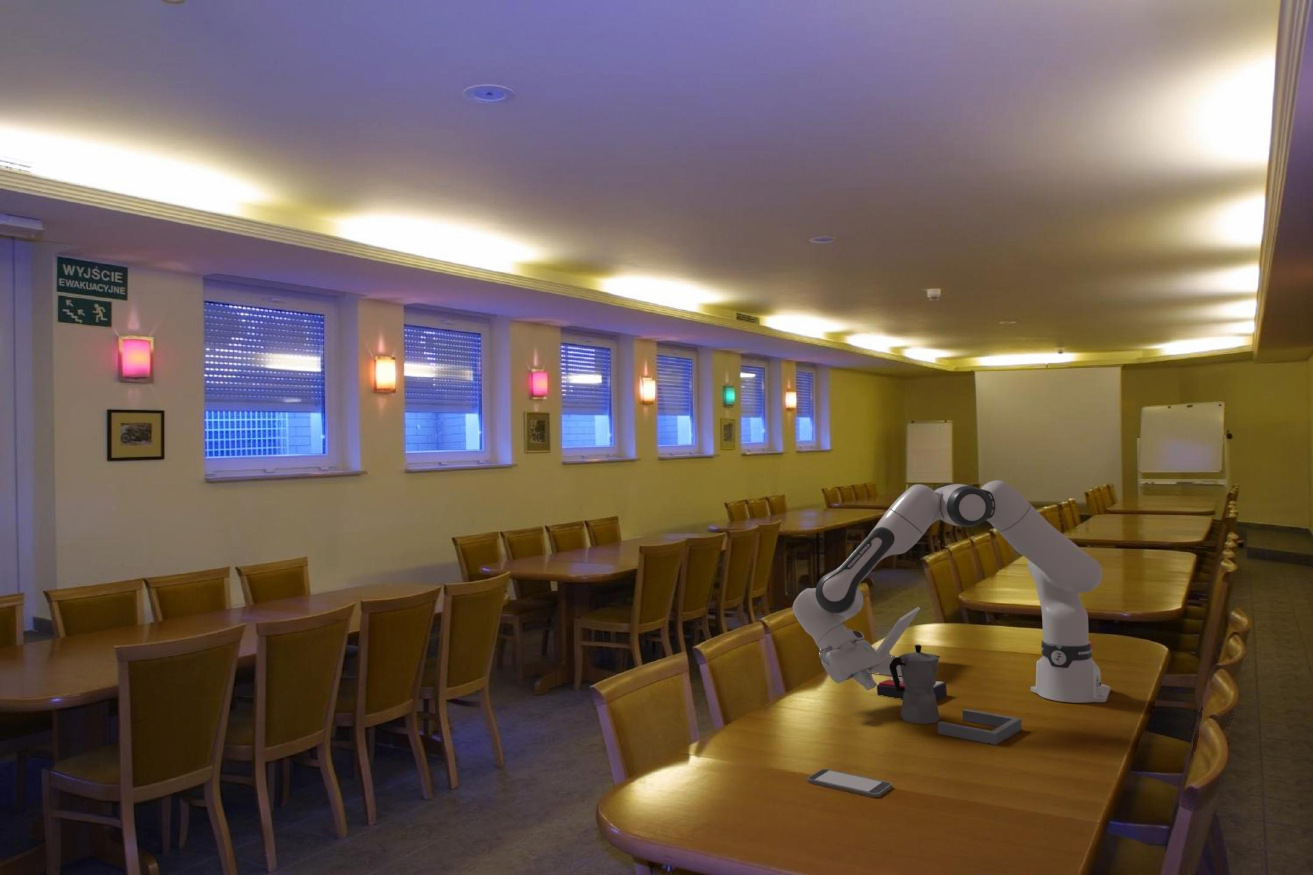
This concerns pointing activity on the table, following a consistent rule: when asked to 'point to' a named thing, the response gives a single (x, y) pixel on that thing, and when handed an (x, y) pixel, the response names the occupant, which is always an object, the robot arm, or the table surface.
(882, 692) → the calculator
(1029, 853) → the table surface
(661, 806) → the table surface
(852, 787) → the smartphone
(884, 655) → the tablet stand
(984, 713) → the dock
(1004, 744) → the table surface
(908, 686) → the coffeepot
